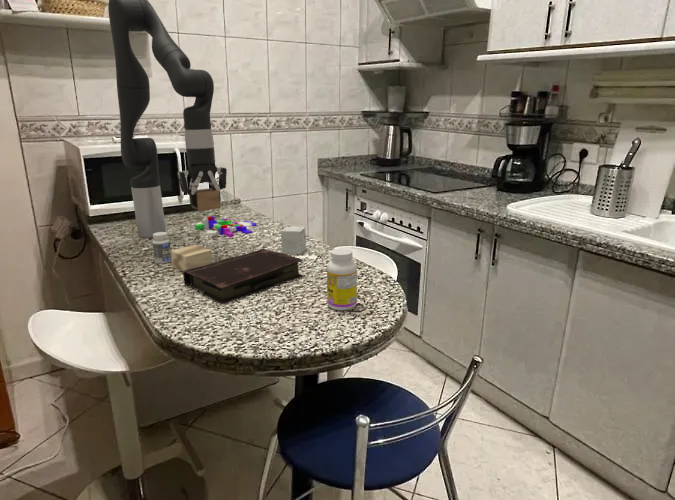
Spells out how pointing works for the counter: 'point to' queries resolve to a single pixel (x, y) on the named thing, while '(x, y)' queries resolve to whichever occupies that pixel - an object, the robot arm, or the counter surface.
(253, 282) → the diary
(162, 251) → the pill bottle
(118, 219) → the counter surface
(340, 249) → the supplement bottle
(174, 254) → the maple block
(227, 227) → the building block set
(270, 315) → the counter surface
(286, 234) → the skincare box
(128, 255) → the counter surface
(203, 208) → the walnut block
